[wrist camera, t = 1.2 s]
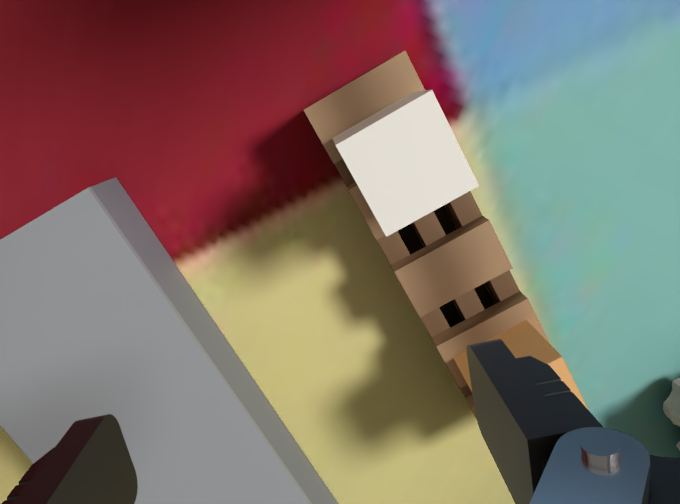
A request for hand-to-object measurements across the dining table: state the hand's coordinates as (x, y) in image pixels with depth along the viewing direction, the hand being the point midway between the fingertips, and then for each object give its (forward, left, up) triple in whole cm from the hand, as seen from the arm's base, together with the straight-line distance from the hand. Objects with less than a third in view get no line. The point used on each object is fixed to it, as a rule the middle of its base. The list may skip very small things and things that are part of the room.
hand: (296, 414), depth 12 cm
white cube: (-6, -1, -17) cm, 18 cm away
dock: (+14, +5, -21) cm, 26 cm away
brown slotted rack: (-6, +5, -21) cm, 22 cm away
